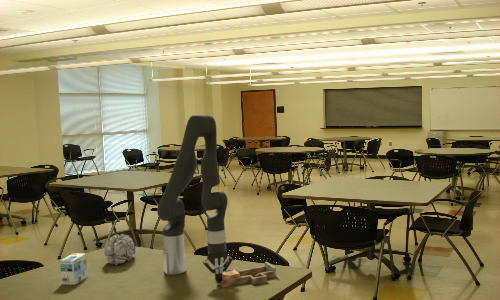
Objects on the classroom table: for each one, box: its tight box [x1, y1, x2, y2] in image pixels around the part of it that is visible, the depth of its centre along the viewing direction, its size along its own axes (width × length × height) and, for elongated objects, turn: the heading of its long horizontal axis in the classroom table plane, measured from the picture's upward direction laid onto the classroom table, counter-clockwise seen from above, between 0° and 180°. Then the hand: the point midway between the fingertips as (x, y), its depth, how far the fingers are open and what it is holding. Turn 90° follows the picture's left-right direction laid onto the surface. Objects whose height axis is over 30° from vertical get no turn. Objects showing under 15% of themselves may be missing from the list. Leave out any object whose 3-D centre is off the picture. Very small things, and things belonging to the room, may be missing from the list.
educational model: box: [103, 233, 136, 266], centre depth 228 cm, size 14×20×15 cm
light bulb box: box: [59, 252, 89, 286], centre depth 204 cm, size 11×7×11 cm, turn 168°
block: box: [222, 270, 240, 280], centre depth 194 cm, size 6×5×4 cm
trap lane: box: [215, 261, 277, 288], centre depth 197 cm, size 24×16×4 cm, turn 113°
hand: (218, 281), depth 192 cm, fingers closed
